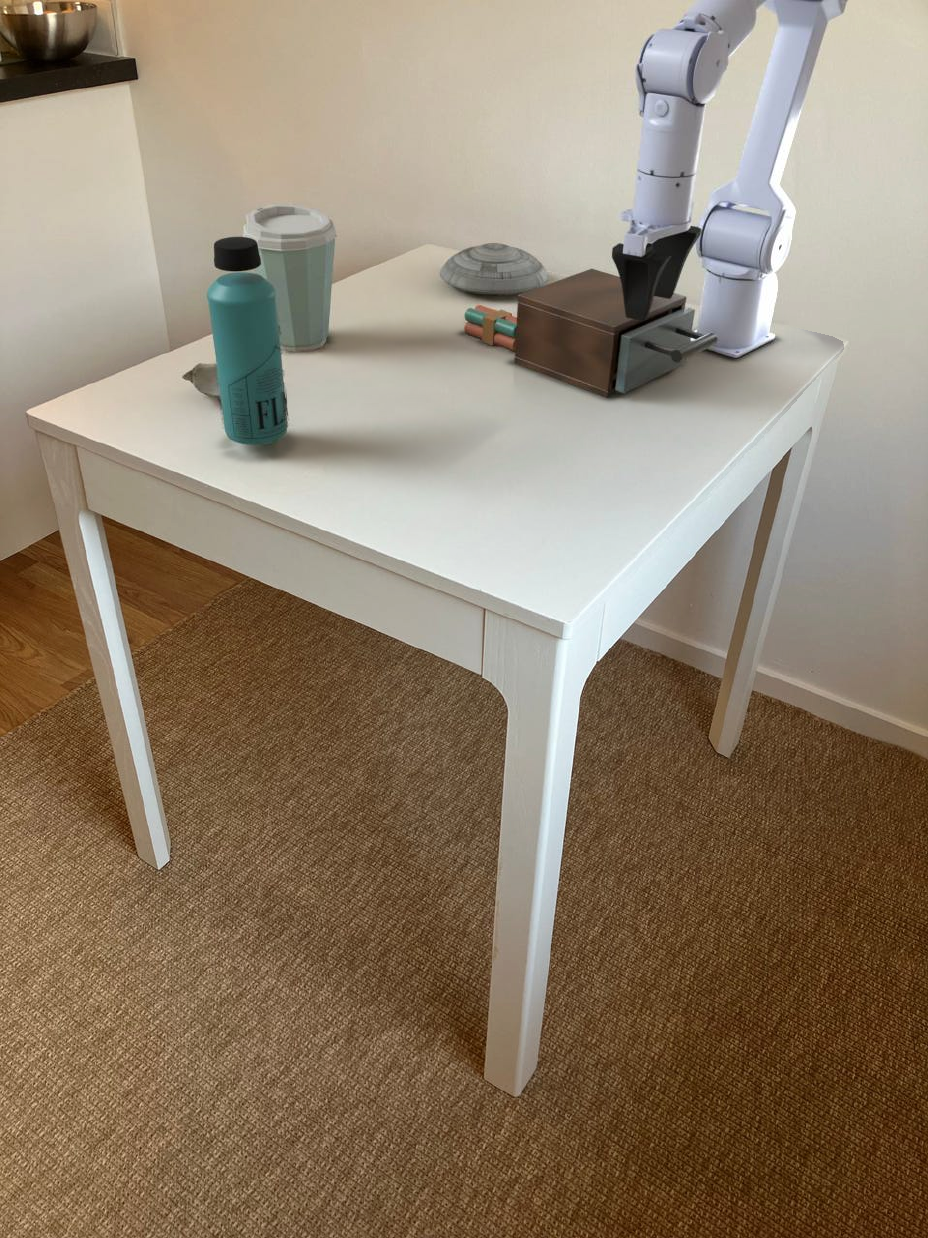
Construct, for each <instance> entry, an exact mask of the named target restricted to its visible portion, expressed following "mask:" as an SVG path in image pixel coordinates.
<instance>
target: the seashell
mask: <svg viewBox="0 0 928 1238" xmlns="http://www.w3.org/2000/svg"><path fill="white" fill-rule="evenodd" d="M215 364H216V365H215ZM215 372H216V373H215ZM181 378H182V379H183V380H185V381H189V382H190V383H191V384H193V386H194V388H195V389H196V390H197V391H198V392H200V393H201V394H203V395H205V396H207V397H211V398H215V399H219V397H220V390H219V391H218V389H219V382H218V375H217V363H202V362H200V363H197V364H196V365H195V366H194V367H192V369H191V370H189V371H187V372H186V373H184V374H183V375H182V376H181ZM217 382H218V383H217ZM217 385H218V386H217ZM218 393H219V394H218ZM219 400H221V398H220V399H219Z"/></svg>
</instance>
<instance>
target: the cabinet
mask: <svg viewBox="0 0 928 1238" xmlns="http://www.w3.org/2000/svg"><path fill="white" fill-rule="evenodd" d="M686 304H687V296H686V295H682V294H679V293H675V292H674V293H673V295H672V297H671V298H670V299H667V298H662V297H657V296H654V297H653V302H652V305H651V309H650V312H649V315H648V317H647V319H646V320H648V319H650V318H653V317H655V316H657V315H660V314H662V313H664V312H667V311H669V310H671V309H672V313H674V312H676V311H678V310H681V309H683V308H685V307H686ZM516 317H517V325H516V345H515V351H514V364H516V365H519V366H521V367H524V368H527V369H529V370H532V371H534V372H538V373H540V374H543V375H545V376H548V377H551V378H554V379H556V380H558V381H561V382H564V383H566V384H569V385H572V386H574V387H577V388H580V389H582V390H585V391H588V392H591V393H593V394H596V395H598V396H600V397H603V398H606V399H608V398H611V397H612V396H614V395H616V394H618V393H620V392H619V391H616V390H615V388H616V379H615V380H613V375H614V366H615V357H616V348H617V339H618V332H620V331H622V330H624V329H627V328H629V327H631V326H634V325H636V324H638V323H641V322H643V321H641V320H636V319H631V318H627V317H626V314H625V307H624V299H623V291H622V284H621V280H620V276H619V275H614V274H611V273H608V272H604V271H601V270H598V269H594V268H588V269H587V270H584V271H580V272H578V273H576V274H573V275H570V276H567V277H564V278H562V279H558V280H556V281H553V282H550V283H548V284H544V285H541V286H540V287H538V288H536V289H533V290H530V291H527V292H523V293H518V295H517V307H516Z"/></svg>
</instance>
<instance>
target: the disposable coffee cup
mask: <svg viewBox="0 0 928 1238" xmlns="http://www.w3.org/2000/svg"><path fill="white" fill-rule="evenodd" d="M245 217H246V223H245V224H243V226H242V227H243V231H242V232H243V233H242V237H247V238H251V239H254V240H256V241H257V244H258V249H259V255H260V258H261V265H260V266H259V267H257V268H255V269H253V270H254V274H258V275H260V276H262V277H263V278H265V279H266V280H267V281H268V282H269V283H271V284H272V285H273V287H274V288H275V291H276V295H275V300H276V309H277V319H278V326H280V329H281V330H279V332H280V333H281V334H280V333H279V335H280V336H279V337H280V345H281V344H282V345H281V346H282V347H281V346H280V348H281V350H282V351H288V352H295V353H297V352H299V353H301V352H310V351H314V350H316V349H319V348H321V347H323V345H324V344H325V343H327V338H328V337H329V330H330V329H329V328H330V315H331V302H332V288H333V287H332V286H333V273H334V259H335V246H336V238H337V237H338V235H337V231H336V226H335V225H334V222H333V220H332V219H330V218H329V215H328V214H326V213H324V212H323V211H321V210H318V209H316V208H313V207H308V206H304V205H299V204H289V203H288V204H287V203H286V204H284V203H273V204H269V205H265V206H261V207H257V208H255V209H253V210H251V211H250V212H248V213H247V214H245ZM278 317H279V318H278ZM279 321H280V322H279ZM281 341H282V342H281Z"/></svg>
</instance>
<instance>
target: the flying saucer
mask: <svg viewBox="0 0 928 1238" xmlns="http://www.w3.org/2000/svg"><path fill="white" fill-rule="evenodd" d="M439 276H440V278H441V279H442V281H444V282H445V283H446V284H448V285H449V286H451V287H453V288H455V289H458V290H461V291H464V292H468V293H472V294H478V295H489V296H504V295H505V296H508V295H517V294H522V293H525V292H528V291H531V290H533V289H536V288H539V287H542V286H544V285H545V283H546V282H547V281H548V280H549V273H548V271H547V269H546V267H545V266H544V265H543V263H542V262H541V261H540V260H539V259H538V258H537V257H535V256H534V255H532V254H531V253H529V252H527V251H526V250H523V249H521V248H518V247H515V246H510V245H508V244H505V243H500V242H499V243H498V242H489V243H484V244H480V245H475V246H471V247H467V248H465V249H462V250H461V251H458V252H456V253H455V254H453V255H452V256H450V257H449V258H448V259H447V260H446V262H445V263H444V264H443V265H442V267H441V268H440V270H439Z"/></svg>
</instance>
